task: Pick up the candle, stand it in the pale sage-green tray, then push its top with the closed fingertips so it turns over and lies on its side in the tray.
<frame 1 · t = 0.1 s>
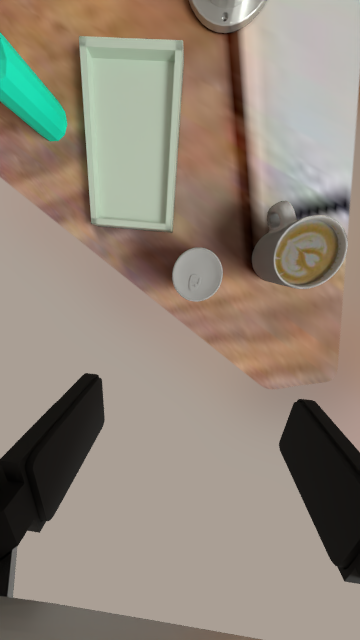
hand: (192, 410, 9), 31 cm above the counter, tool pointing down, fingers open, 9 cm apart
canned food: (196, 271, 37), on the counter
coffee mug: (276, 247, 34), on the counter
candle: (51, 120, 31), on the counter
tray: (135, 154, 31), on the counter
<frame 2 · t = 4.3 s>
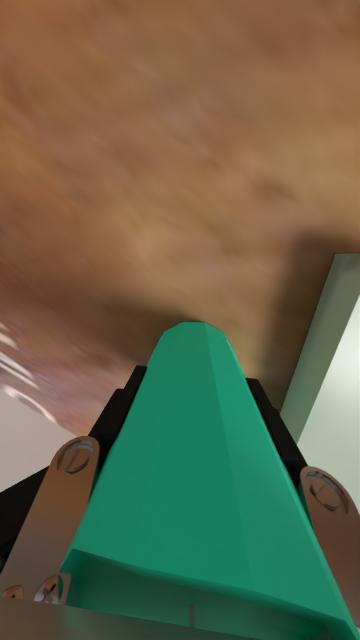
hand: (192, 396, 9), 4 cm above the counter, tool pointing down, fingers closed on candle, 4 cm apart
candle: (193, 357, 13), on the counter, touching gripper
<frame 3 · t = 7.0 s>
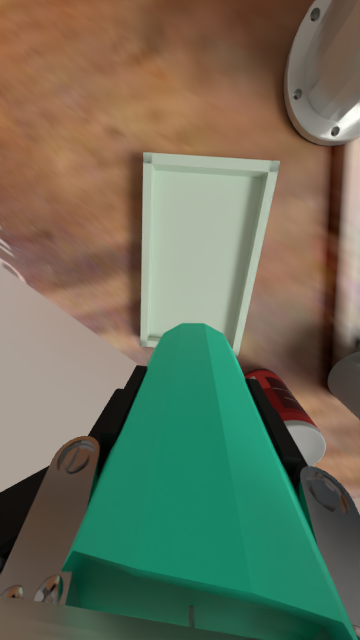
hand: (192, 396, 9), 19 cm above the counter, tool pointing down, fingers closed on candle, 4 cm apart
canned food: (257, 386, 31), on the counter
coffee mug: (359, 367, 29), on the counter
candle: (192, 357, 13), point 15 cm above the counter, touching gripper
tray: (197, 269, 25), on the counter
when the fingers open (5 cm above the counter, at t = 9.8 s): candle stays where it is, resting on tray.
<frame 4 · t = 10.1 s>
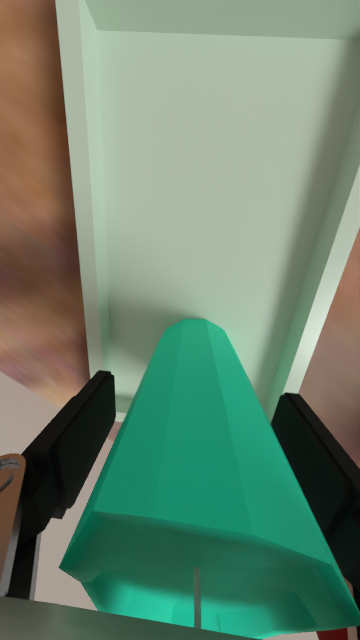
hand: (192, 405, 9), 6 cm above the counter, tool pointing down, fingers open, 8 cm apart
canned food: (302, 472, 18), on the counter
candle: (194, 353, 14), point 1 cm above the counter, touching tray
tray: (202, 275, 13), on the counter
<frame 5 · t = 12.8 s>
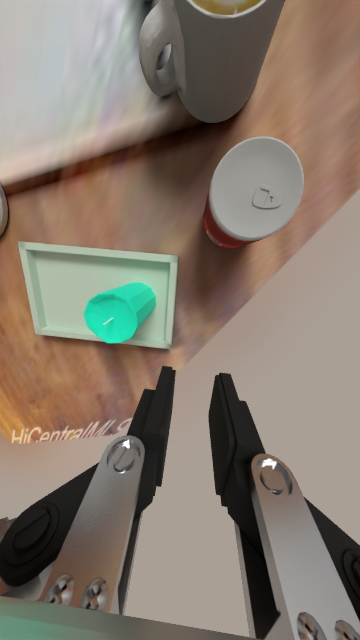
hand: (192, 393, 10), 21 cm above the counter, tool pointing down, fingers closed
canned food: (230, 220, 26), on the counter
coffee mug: (202, 76, 21), on the counter
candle: (139, 299, 29), point 1 cm above the counter, touching tray
tray: (106, 296, 30), on the counter
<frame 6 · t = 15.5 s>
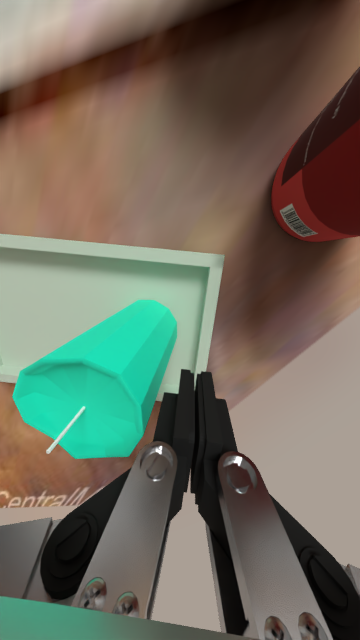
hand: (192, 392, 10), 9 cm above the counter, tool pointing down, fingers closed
canned food: (317, 192, 14), on the counter
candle: (148, 327, 18), point 1 cm above the counter, touching gripper, tray
tray: (96, 319, 19), on the counter
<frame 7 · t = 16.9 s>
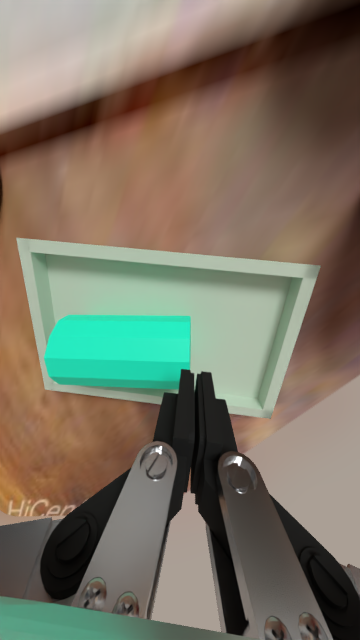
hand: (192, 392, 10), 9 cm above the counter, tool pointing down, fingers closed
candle: (192, 351, 15), point 4 cm above the counter, touching tray
tray: (162, 328, 18), on the counter
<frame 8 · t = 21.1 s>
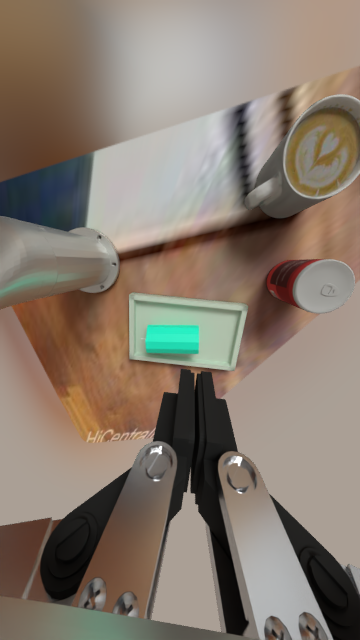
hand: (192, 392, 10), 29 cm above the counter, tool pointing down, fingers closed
canned food: (285, 280, 35), on the counter
coffee mug: (274, 189, 31), on the counter
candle: (199, 339, 36), point 4 cm above the counter, touching tray
tray: (184, 330, 40), on the counter
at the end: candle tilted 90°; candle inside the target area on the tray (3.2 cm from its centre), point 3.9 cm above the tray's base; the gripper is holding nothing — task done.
